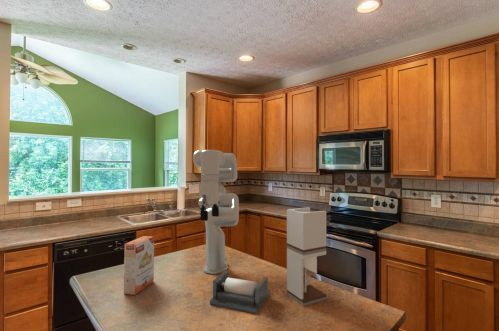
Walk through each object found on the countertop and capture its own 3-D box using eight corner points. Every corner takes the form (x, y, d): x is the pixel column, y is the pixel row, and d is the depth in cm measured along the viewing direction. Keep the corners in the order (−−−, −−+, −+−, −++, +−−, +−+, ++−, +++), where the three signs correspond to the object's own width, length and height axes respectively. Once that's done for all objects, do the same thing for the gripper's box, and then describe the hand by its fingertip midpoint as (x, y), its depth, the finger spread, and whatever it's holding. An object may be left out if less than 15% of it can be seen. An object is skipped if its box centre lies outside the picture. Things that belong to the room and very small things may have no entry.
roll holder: (227, 287, 119) (227, 268, 119) (269, 294, 112) (269, 274, 112) (209, 304, 104) (209, 283, 104) (256, 314, 97) (256, 291, 97)
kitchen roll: (230, 288, 114) (229, 274, 113) (258, 292, 109) (257, 278, 109) (224, 296, 108) (223, 282, 107) (253, 302, 104) (252, 287, 103)
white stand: (303, 306, 103) (303, 213, 103) (286, 294, 112) (286, 209, 112) (326, 299, 108) (326, 210, 108) (308, 288, 117) (308, 207, 117)
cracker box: (136, 295, 111) (136, 244, 111) (123, 294, 112) (123, 243, 112) (154, 281, 125) (154, 235, 125) (143, 280, 126) (142, 235, 126)
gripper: (211, 177, 127) (211, 214, 127) (191, 179, 111) (191, 221, 111) (226, 177, 124) (226, 215, 124) (207, 179, 108) (207, 222, 108)
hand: (209, 218), depth 118 cm, fingers open, 9 cm apart
